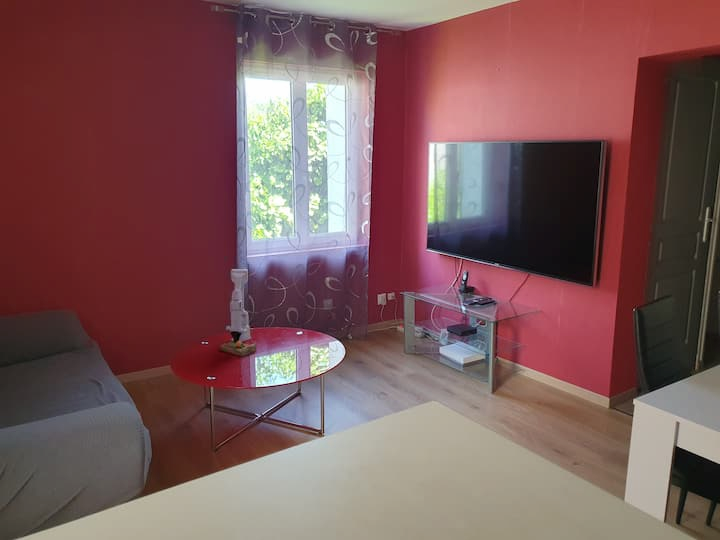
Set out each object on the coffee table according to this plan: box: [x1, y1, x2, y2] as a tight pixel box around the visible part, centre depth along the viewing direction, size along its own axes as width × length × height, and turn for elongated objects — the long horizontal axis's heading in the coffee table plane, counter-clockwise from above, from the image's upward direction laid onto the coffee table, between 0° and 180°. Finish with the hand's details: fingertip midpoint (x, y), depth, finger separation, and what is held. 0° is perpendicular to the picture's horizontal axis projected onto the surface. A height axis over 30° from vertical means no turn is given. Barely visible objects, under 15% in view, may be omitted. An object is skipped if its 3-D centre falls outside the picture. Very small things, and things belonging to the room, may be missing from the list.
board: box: [219, 340, 257, 357], centre depth 326 cm, size 11×18×4 cm, turn 58°
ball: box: [235, 341, 243, 347], centre depth 326 cm, size 4×4×4 cm
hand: (236, 343), depth 326 cm, fingers closed, pressing on ball
